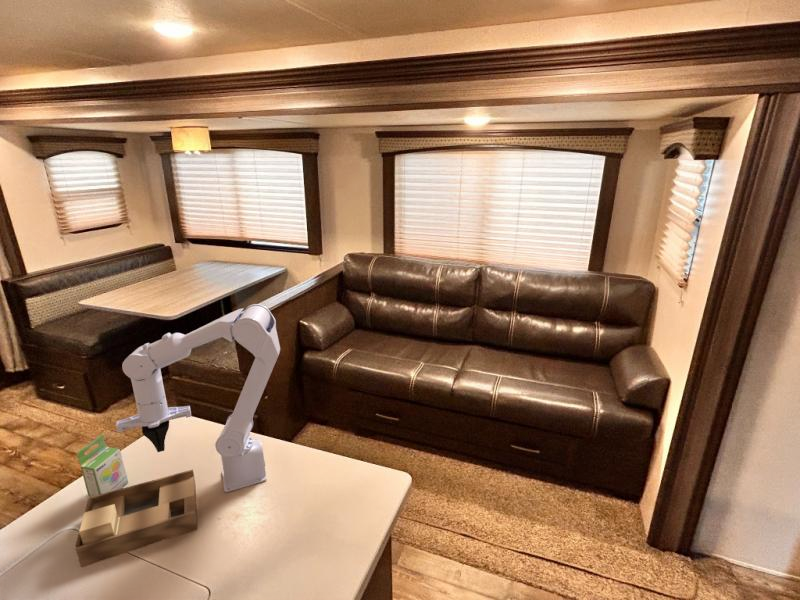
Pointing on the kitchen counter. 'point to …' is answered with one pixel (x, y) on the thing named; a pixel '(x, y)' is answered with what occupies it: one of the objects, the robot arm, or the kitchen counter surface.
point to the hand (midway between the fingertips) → (161, 449)
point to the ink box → (102, 468)
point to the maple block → (99, 524)
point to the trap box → (143, 516)
